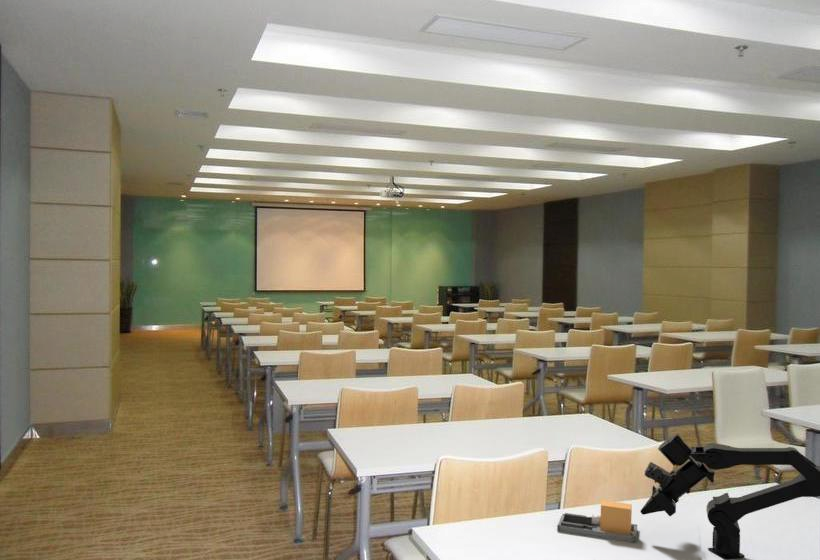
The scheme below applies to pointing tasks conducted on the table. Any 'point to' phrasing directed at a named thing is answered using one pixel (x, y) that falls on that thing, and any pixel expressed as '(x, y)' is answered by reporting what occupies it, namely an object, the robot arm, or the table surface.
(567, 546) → the table surface
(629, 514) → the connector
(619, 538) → the tray
